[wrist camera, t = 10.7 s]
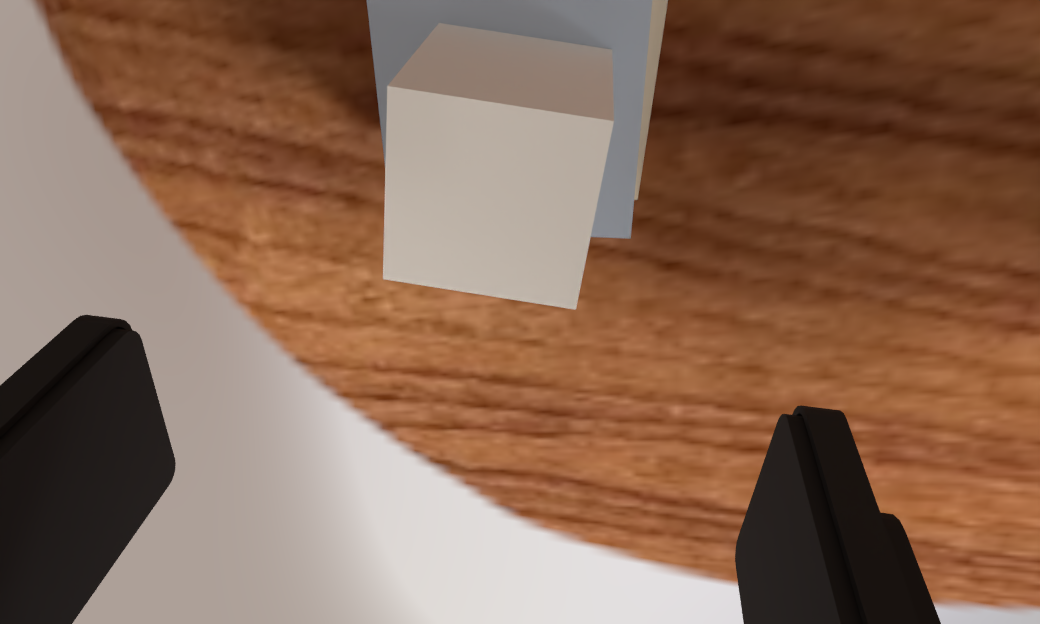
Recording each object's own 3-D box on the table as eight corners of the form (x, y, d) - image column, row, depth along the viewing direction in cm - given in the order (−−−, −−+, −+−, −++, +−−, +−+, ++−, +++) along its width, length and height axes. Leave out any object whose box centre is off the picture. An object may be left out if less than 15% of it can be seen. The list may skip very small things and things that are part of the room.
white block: (612, 49, 21) (613, 121, 16) (582, 207, 24) (575, 309, 19) (439, 22, 21) (387, 86, 16) (429, 183, 24) (383, 278, 19)
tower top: (647, -48, 23) (654, -26, 20) (627, 187, 28) (630, 238, 24) (396, -51, 24) (363, -29, 20) (416, 180, 28) (391, 228, 25)
